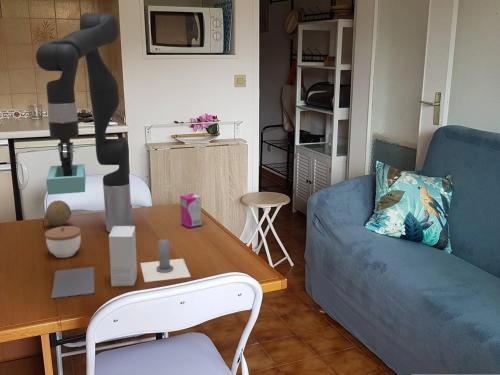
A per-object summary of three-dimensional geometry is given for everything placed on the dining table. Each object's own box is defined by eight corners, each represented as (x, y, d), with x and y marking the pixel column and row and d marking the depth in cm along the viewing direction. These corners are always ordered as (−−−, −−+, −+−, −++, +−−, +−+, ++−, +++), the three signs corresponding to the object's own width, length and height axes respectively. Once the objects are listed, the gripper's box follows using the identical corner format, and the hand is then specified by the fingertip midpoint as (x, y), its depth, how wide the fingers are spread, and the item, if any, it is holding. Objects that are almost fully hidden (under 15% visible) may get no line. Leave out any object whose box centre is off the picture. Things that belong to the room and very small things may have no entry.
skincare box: (115, 276, 153) (112, 225, 149) (139, 275, 154) (136, 225, 150) (111, 289, 145) (107, 235, 141) (135, 288, 146) (132, 235, 142)
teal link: (52, 179, 149) (50, 166, 148) (85, 177, 151) (84, 164, 150) (47, 194, 134) (46, 179, 133) (85, 192, 136) (83, 176, 135)
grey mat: (55, 272, 156) (55, 270, 156) (97, 267, 159) (97, 266, 159) (51, 299, 140) (51, 297, 139) (98, 293, 143) (98, 291, 143)
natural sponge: (77, 226, 196) (75, 200, 194) (55, 232, 190) (52, 205, 187) (64, 221, 202) (62, 196, 199) (42, 227, 196) (39, 201, 193)
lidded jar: (89, 250, 173) (87, 223, 171) (68, 262, 163) (65, 233, 161) (61, 246, 176) (59, 219, 174) (39, 258, 167) (36, 230, 164)
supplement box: (194, 222, 201) (194, 192, 198) (201, 226, 196) (201, 196, 194) (180, 224, 198) (179, 195, 195) (187, 229, 194) (186, 198, 191)
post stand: (140, 265, 161) (138, 235, 158) (183, 260, 164) (182, 231, 162) (144, 284, 148) (143, 251, 145) (190, 279, 151) (189, 247, 149)
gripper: (50, 116, 150) (56, 176, 154) (46, 123, 137) (53, 187, 142) (78, 116, 152) (83, 174, 156) (76, 122, 139) (82, 186, 144)
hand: (68, 180), depth 149 cm, fingers closed on teal link, 2 cm apart
